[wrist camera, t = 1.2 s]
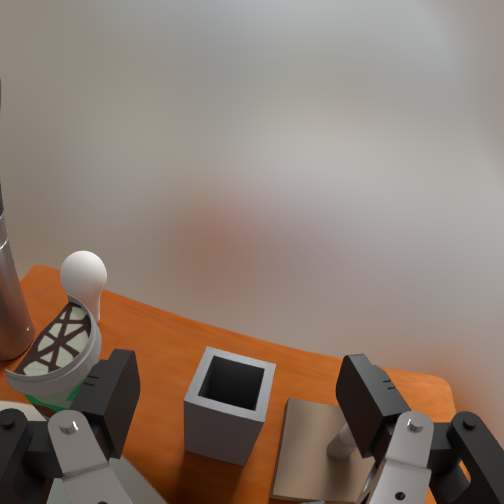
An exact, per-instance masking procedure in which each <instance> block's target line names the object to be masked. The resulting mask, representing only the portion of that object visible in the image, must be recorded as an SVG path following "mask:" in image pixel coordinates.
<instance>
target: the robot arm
mask: <svg viewBox="0 0 504 504" xmlns="http://www.w3.org/2000/svg"><path fill="white" fill-rule="evenodd" d="M0 106H1V80H0ZM33 338H34V326H33V323H32V320H31V317H30V315H29V312H28V309H27V305H26V302H25V299H24V296H23V293H22V289H21V286H20V282H19V279H18V275H17V271H16V268H15V264H14V259H13V255H12V251H11V247H10V242H9V237H8V232H7V227H6V222H5V215H4V208H3V202H2V194H1V184H0V361H6V360H11V359H13V358H16V357H18V356H19V355H21V354H22V353H23V352H25V351H26V350H27V349H28V347H29V346H30V345H31V343H32V341H33ZM139 395H140V379H139V373H138V367H137V361H136V355H135V352H134V351H133V350H124V349H114V350H113V352H112V354H111V355H110V357H109V359H108V360H100V361H99V362H98V363H96V364H95V365H94V366H92V368H91V370H90V372H89V373H88V375H87V377H86V378H85V380H84V382H83V384H82V386H81V387H80V389H79V391H78V393H77V395H76V396H75V398H74V400H73V402H72V404H71V406H70V407H69V409H68V410H63V411H60V412H58V413H56V414H54V415H53V416H52V417H51V418H50V420H49V421H28V420H27V418H26V416H25V415H24V413H23V412H21V411H20V410H18V409H13V408H10V409H5V410H2V411H0V504H46V503H47V500H48V496H49V493H50V489H51V487H52V484H53V480H54V478H62V480H63V483H64V486H65V488H66V491H67V493H68V495H69V498H70V500H71V502H72V504H133V503H132V501H131V500H130V498H129V497H128V495H127V493H126V492H125V490H124V489H123V487H122V485H121V484H120V482H119V480H118V479H117V477H116V475H115V474H114V472H113V470H112V468H111V466H110V465H109V463H108V462H109V459H110V457H111V458H116V459H120V457H121V454H122V450H123V447H124V443H125V440H126V437H127V434H128V430H129V427H130V424H131V421H132V417H133V414H134V411H135V408H136V405H137V402H138V399H139ZM336 398H337V401H338V403H339V405H340V408H341V410H342V412H343V414H344V417H345V419H346V421H347V424H348V426H349V428H350V431H351V433H352V435H353V438H354V440H355V442H356V445H357V447H358V449H359V452H360V454H361V457H362V459H363V458H368V457H374V459H375V462H374V464H373V466H372V468H371V470H370V473H369V475H368V477H367V479H366V482H365V484H364V486H363V488H362V490H361V492H360V495H359V497H358V499H357V501H356V502H355V504H424V501H425V497H426V493H427V489H428V485H429V487H430V489H431V492H432V494H433V496H434V498H435V500H436V503H437V504H504V450H503V449H502V448H501V446H500V445H499V443H498V442H497V440H496V439H495V438H494V436H493V435H492V434H491V432H490V431H489V429H488V428H487V427H486V425H485V424H484V423H483V421H482V420H481V419H480V417H478V416H477V415H476V414H473V413H471V412H467V411H465V412H464V411H463V412H459V413H457V414H456V415H455V416H454V417H453V419H452V421H451V422H446V423H433V422H432V420H431V419H430V418H429V417H428V416H427V415H425V414H423V413H421V412H417V411H412V410H411V409H410V407H409V406H408V404H407V403H406V401H405V400H404V398H403V397H402V395H401V394H400V393H399V391H398V390H397V388H395V385H394V384H393V382H391V379H390V378H389V376H388V375H387V374H386V372H385V371H384V370H382V369H381V368H379V367H378V366H377V365H372V364H371V363H370V361H369V360H368V359H367V357H366V356H365V355H364V354H356V355H346V356H345V357H344V358H343V362H342V365H341V369H340V373H339V377H338V380H337V384H336ZM461 460H462V461H463V463H464V465H465V466H466V468H467V470H468V472H469V473H470V476H471V482H470V484H469V482H468V480H467V478H466V476H465V475H464V473H463V471H462V469H461V467H460V466H459V463H460V462H461ZM301 504H325V501H324V500H323V501H316V502H309V503H301Z"/></svg>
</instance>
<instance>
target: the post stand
mask: <svg viewBox="0 0 504 504" xmlns="http://www.w3.org/2000/svg"><path fill="white" fill-rule="evenodd" d="M374 462H375V459H374V457H368V458H363V459H362V457H361V454H360V452H359V449H358V447H357V445H356V442H355V440H354V438H353V435H352V433H351V431H350V428H349V426H348V424H347V421H346V419H345V417H344V414H343V412H342V410H341V408H340V406H334V405H328V404H321V403H316V402H310V401H304V400H299V399H294V398H288V401H287V403H286V406H285V412H284V418H283V424H282V430H281V436H280V442H279V448H278V454H277V459H276V465H275V470H274V475H273V480H272V485H271V490H270V495H269V498H274V499H280V500H288V501H296V502H305V503H309V502H316V501H323V500H324V501H325V504H355V502H356V501H357V499H358V497H359V495H360V492H361V490H362V488H363V486H364V484H365V482H366V479H367V477H368V475H369V473H370V470H371V468H372V466H373V464H374Z"/></svg>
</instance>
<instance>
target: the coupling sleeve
mask: <svg viewBox="0 0 504 504" xmlns="http://www.w3.org/2000/svg"><path fill="white" fill-rule="evenodd" d="M275 366H276V364H274V363H269V362H265V361H261V360H257V359H253V358H249V357H245V356H241V355H237V354H233V353H230V352H226V351H222V350H219V349H215V348H212V347H208V346H207V348H206V350H205V352H204V355H203V357H202V359H201V362H200V364H199V366H198V368H197V371H196V373H195V375H194V378H193V380H192V382H191V385H190V387H189V389H188V391H187V394H186V396H185V398H184V444H185V450H186V451H189V452H193V453H196V454H199V455H203V456H206V457H209V458H213V459H217V460H220V461H224V462H228V463H232V464H236V465H241V466H245V463H246V461H247V459H248V457H249V455H250V453H251V451H252V448H253V446H254V444H255V442H256V440H257V437H258V435H259V433H260V431H261V428H262V426H263V424H264V421H265V416H266V411H267V406H268V401H269V397H270V391H271V386H272V381H273V376H274V371H275Z"/></svg>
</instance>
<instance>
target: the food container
mask: <svg viewBox="0 0 504 504" xmlns="http://www.w3.org/2000/svg"><path fill="white" fill-rule="evenodd" d="M67 296H68V302H69V303H68V304H67V305H66V306H65V307H64V309H63V310H62V312H61V313H60V314H59V315H58V316H57V317H56V318H55V319H54V320H53V321H52V322H51V323H50V324H49V325H48V326H47V327H46V328H45V329H44V330H43V331H42V332H41V333H40V334H39V336H38V337H37V339H36V340H35V342H34V344H33V345H32V347H31V349H30V350H29V352H28V353H27V355H26V356H25V358H24V359H23V360H22V362H21V363H20V364H19V366H18V367H17V368H16V370H15V371H14V372H11V371H9V370H7V369H6V372H7V374H8V375H7V379H8V381H9V384H10V387H11V389H13V390H15V391H17V392H20V393H23V394H24V395H25V396H26V398H27V399H28V400H29V401H30V402H31V404H32V405H33V406H34V407H35V408H36V409H37V410H38V411H39V413H40V414H41V415H42V416H43V417H44V418H45V419H46V420H47V421H49V420H50V418H51V417H52V416H53V415H54V414H56V413H58V412H60V411H63V410H68V409H69V407H70V406H71V404H72V402H73V400H74V398H75V396H76V395H77V393H78V391H79V389H80V387H81V386H82V384H83V382H84V380H85V378H86V377H87V375H88V373H89V372H90V370H91V368H92V366H94V365H95V364H96V363H98V362H99V360H98V358H99V355H100V351H101V344H102V340H101V333H100V330H99V328H98V326H97V324H96V322H95V320H94V318H93V316H92V314H91V312H90V311H89V310H88V309H87V307H86V306H85V305H84V304H83V303H82V302H81V301H80V300H79V299H77V298H75V297H74V296H71V295H69V294H67Z"/></svg>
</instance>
